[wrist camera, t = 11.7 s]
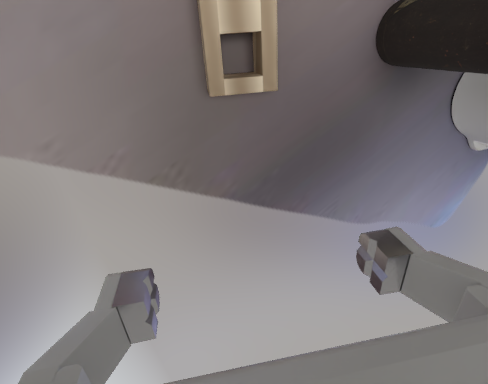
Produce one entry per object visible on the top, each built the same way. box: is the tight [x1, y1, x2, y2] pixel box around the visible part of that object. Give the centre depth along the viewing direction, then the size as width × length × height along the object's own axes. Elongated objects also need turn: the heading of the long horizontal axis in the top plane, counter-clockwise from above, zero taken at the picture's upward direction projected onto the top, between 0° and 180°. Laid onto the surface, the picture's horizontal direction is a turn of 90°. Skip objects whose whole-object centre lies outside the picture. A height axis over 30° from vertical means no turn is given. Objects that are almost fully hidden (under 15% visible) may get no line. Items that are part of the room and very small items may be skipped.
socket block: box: [197, 0, 278, 97], centre depth 32 cm, size 8×16×5 cm, turn 4°
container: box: [377, 0, 488, 74], centre depth 30 cm, size 9×9×20 cm
